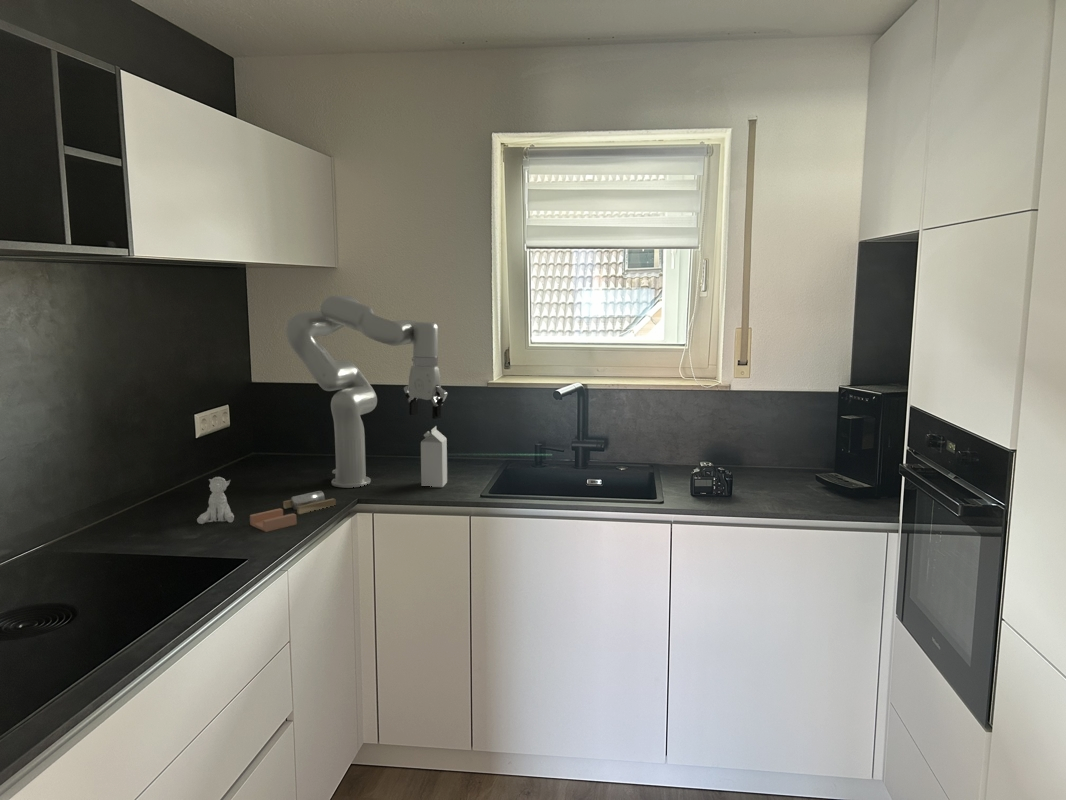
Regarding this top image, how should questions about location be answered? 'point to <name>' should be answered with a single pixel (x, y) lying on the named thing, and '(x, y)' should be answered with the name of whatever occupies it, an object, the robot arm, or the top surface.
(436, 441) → the milk carton
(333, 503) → the channel beam
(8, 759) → the top surface
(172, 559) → the top surface
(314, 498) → the grey cylinder
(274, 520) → the cradle
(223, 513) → the white creature statuette
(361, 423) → the robot arm
